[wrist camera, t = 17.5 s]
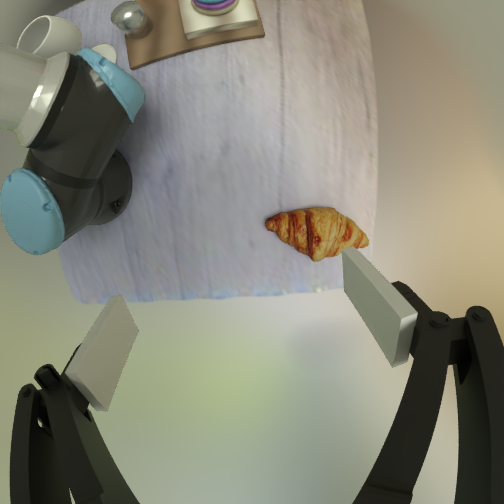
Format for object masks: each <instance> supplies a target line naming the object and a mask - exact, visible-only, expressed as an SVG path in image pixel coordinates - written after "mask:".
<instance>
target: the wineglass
mask: <svg viewBox="0 0 504 504" xmlns="http://www.w3.org/2000/svg"><path fill="white" fill-rule="evenodd" d="M81 44H82V35H81V32H80V30H79V28H78V27H77V26H76V25H74V24H73V23H71V22H70V21H68V20H66V19H63V18H59V17H55V16H41V17H38V18H36V19H35V20H33V21H32V22H31V23H30V24H29V25H28V26H27V27H26V28H25V30H24V31H23V33H22V35H21V36H20V38H19V41H18V44H17V48H18V49H21V50H24V51H27V52H30V53H33V54H36V55H38V56H41V57H44V58H50V57H52V56H55V55H57V54H59V53H61V52H64V51H65V52H68V53H70V54H73V55H75V56H76V54H77V52H78V51H79V50H80V48H81ZM92 50H94V51H96V52H98V53H99V54H101V55H102V56H103V57H105V58H107V60H109V61H111V62H113V63H114V64H116V59H117V54H116V51H115V49H114V48H113V47H112V46H111V45H108V44H101V45H97V46H95V47H93V48H92Z"/></svg>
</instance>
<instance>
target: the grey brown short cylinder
mask: <svg viewBox="0 0 504 504" xmlns="http://www.w3.org/2000/svg"><path fill="white" fill-rule="evenodd" d="M111 21H112V23H113V24H115V25H116V26H117V27H118V28H119V29H120V30H122V31H123V32H124V33H125V34H126V35H127V36H128V37H129V38H131V39H134V40H138V39H142V38H144V37H145V36H147V35H148V34H149V33H150V32H151V30H152V28H153V22H152V21H151V19H150V18H149V17H148V15H147V14H146V13H145V11H144V10H143V9H142V7H141V6H140V5H139V4H138V3H137V2H136V1H126V2H123V3H121V4H120V5H118V6H117V7H116V8H115V9H114V10H113V12H112V14H111Z"/></svg>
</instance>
